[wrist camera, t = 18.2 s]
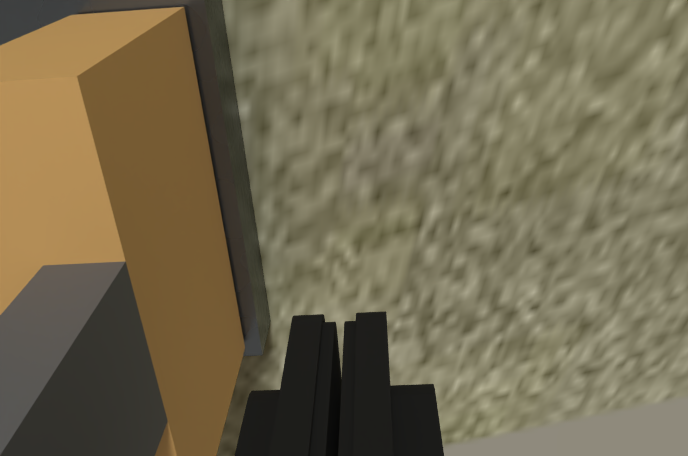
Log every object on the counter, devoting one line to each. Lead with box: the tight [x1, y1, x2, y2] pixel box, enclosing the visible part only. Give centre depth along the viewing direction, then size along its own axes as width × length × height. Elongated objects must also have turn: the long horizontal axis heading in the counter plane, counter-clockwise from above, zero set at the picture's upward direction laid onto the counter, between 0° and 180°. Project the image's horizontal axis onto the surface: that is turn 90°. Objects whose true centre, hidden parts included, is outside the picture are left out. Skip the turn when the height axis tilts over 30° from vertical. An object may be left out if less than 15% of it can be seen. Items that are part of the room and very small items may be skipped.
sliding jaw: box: [0, 7, 245, 456], centre depth 13 cm, size 3×11×14 cm, turn 4°
